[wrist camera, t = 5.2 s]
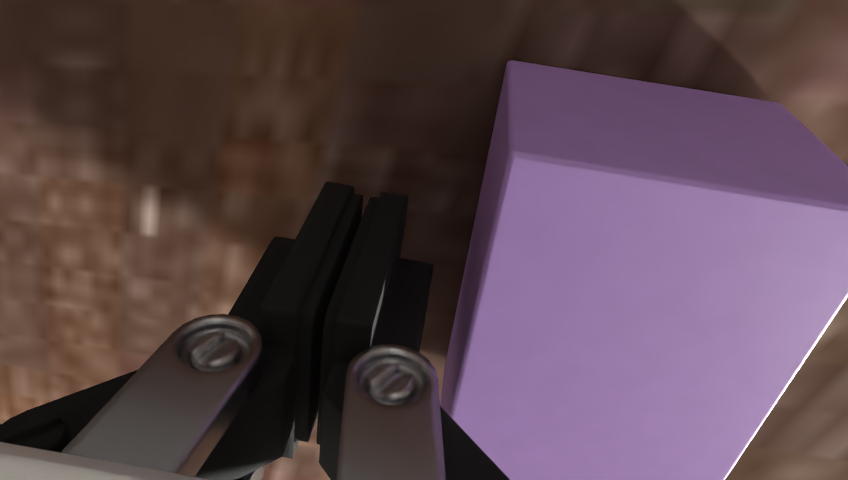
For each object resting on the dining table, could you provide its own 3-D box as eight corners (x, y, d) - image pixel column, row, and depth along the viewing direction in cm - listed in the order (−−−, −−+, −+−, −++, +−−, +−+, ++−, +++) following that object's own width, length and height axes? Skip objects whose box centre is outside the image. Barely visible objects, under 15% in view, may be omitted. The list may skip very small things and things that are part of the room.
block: (507, 58, 11) (509, 152, 8) (782, 101, 11) (905, 215, 8) (444, 367, 15) (428, 511, 12) (638, 400, 15) (676, 555, 12)
